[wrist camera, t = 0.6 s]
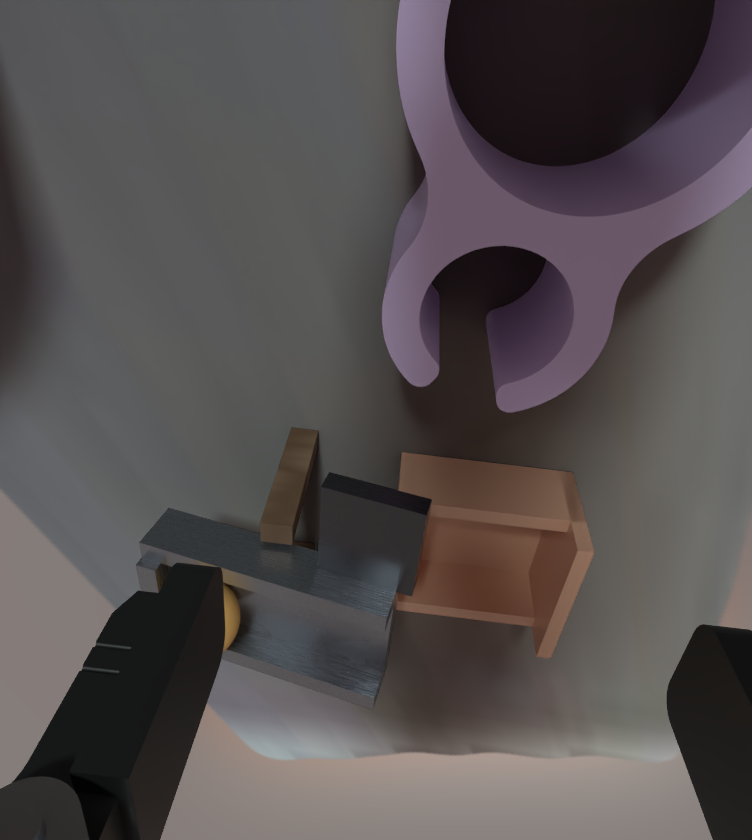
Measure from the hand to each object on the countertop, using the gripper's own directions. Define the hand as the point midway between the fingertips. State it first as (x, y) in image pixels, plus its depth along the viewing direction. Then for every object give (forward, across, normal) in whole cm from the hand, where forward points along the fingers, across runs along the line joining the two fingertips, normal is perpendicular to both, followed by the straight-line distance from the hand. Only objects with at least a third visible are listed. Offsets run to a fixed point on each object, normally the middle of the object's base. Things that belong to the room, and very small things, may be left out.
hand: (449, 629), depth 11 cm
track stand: (+22, +6, +15) cm, 28 cm away
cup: (+22, -4, +15) cm, 27 cm away
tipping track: (+15, +6, +13) cm, 21 cm away
